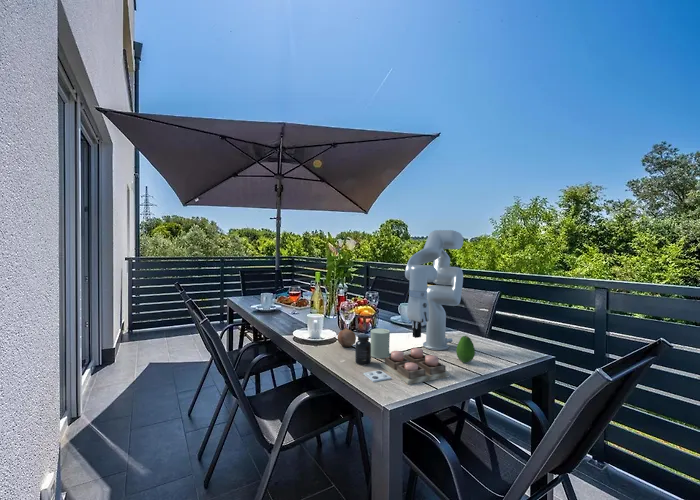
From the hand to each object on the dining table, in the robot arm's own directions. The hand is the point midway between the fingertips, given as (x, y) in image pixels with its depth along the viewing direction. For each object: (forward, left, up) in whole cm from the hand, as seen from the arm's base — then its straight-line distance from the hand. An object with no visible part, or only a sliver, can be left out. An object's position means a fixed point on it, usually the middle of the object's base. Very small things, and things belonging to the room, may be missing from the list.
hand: (416, 337), depth 146 cm
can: (+7, -18, -13) cm, 24 cm away
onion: (+16, -36, -13) cm, 42 cm away
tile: (+21, +4, -13) cm, 25 cm away
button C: (+9, 0, -8) cm, 13 cm away
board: (+4, +5, -13) cm, 14 cm away
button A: (-1, 0, -8) cm, 8 cm away
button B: (-1, +10, -8) cm, 13 cm away
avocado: (-24, +5, -13) cm, 27 cm away
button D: (+9, +10, -10) cm, 17 cm away
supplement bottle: (+19, -12, -13) cm, 26 cm away
